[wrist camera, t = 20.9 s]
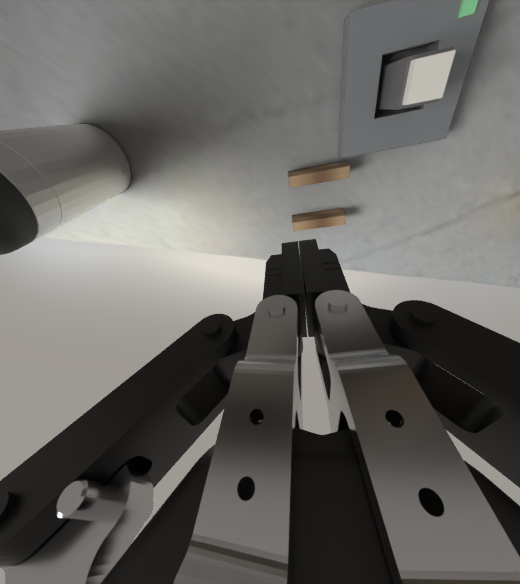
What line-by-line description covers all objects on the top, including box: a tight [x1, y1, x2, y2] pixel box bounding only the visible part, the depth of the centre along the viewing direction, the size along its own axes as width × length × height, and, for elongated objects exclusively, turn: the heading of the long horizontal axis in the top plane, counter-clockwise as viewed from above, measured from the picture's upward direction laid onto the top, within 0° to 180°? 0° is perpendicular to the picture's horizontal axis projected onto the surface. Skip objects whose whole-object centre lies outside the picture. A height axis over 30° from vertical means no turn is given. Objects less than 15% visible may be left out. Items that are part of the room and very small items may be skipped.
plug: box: [375, 46, 456, 110], centre depth 22 cm, size 4×4×8 cm
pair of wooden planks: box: [288, 162, 350, 231], centre depth 32 cm, size 8×8×3 cm
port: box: [338, 0, 489, 158], centre depth 24 cm, size 12×12×3 cm
